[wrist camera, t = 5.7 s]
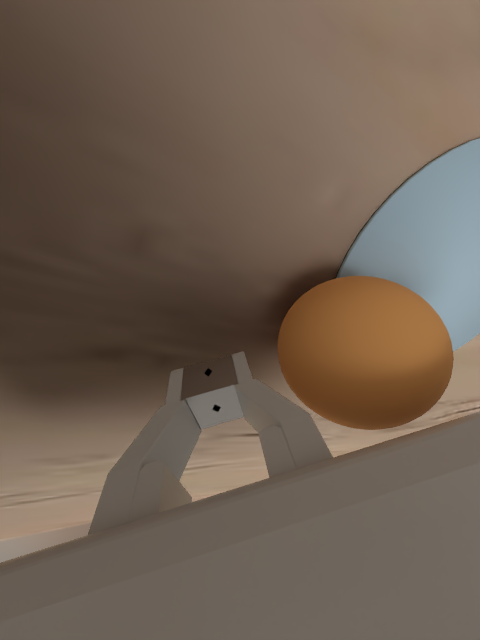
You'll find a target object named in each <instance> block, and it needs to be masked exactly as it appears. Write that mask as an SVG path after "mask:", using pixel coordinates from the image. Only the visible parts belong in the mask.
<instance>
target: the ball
mask: <svg viewBox="0 0 480 640" xmlns="http://www.w3.org/2000/svg"><path fill="white" fill-rule="evenodd" d="M278 358H279V363H280V366H281V370H282V373H283V375H284V377H285V379H286V381H287V383H288V385H289V386H290V388H291V389H292V391H293V392H294V393H295V394H296V396H297V397H298V398H299V399H300V400H301V401H302V402H303V403H304V404H305V405H306V406H307V407H309V408H310V409H311V410H313V411H314V412H316V413H317V414H319V415H320V416H322V417H324V418H326V419H328V420H330V421H332V422H334V423H337V424H340V425H343V426H347V427H351V428H356V429H365V430H377V429H386V428H393V427H397V426H401V425H403V424H406V423H408V422H410V421H412V420H414V419H416V418H418V417H420V416H422V415H423V414H424V413H426V412H427V411H428V410H429V409H430V408H431V407H433V406H434V404H435V403H436V402H437V401H438V400H439V399H440V398H441V396H442V395H443V393H444V391H445V389H446V388H447V386H448V383H449V381H450V378H451V374H452V368H453V360H454V359H453V349H452V342H451V339H450V336H449V333H448V331H447V328H446V326H445V325H444V323H443V321H442V319H441V318H440V316H439V315H438V314H437V312H436V311H435V310H434V309H433V308H432V307H431V305H430V304H429V303H428V302H426V301H425V300H424V299H423V298H422V297H421V296H419V295H418V294H416V293H415V292H413V291H411V290H410V289H408V288H406V287H404V286H402V285H400V284H398V283H395V282H393V281H389V280H386V279H382V278H377V277H371V276H347V277H341V278H336V279H333V280H329V281H326V282H324V283H321V284H319V285H317V286H315V287H314V288H312V289H310V290H309V291H307V292H306V293H305V294H303V295H302V296H301V297H300V298H299V299H298V300H297V301H296V302H295V303H294V304H293V305H292V307H291V308H290V309H289V311H288V312H287V314H286V316H285V318H284V320H283V322H282V325H281V328H280V332H279V337H278Z"/></svg>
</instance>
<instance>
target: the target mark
mask: <svg viewBox="0 0 480 640" xmlns="http://www.w3.org/2000/svg"><path fill="white" fill-rule="evenodd" d="M347 276H371V277H377V278H382V279H386V280H389V281H393V282H395V283H398V284H400V285H402V286H404V287H406V288H408V289H410V290H411V291H413V292H415V293H416V294H418V295H419V296H421V297H422V298H423V299H424V300H425V301H426V302H428V303H429V304H430V305H431V307H432V308H433V309H434V310H435V311H436V312H437V314H438V315H439V316H440V318H441V319H442V321H443V323H444V325H445V326H446V328H447V331H448V333H449V336H450V339H451V342H452V349H453V351H455V350H457V349H458V348H460V347H461V346H463V345H464V344H466V343H467V342H469V341H470V340H471V339H473V338H474V337H475V336H477V335H478V334H479V333H480V138H478V139H475V140H471V141H468V142H466V143H464V144H462V145H460V146H458V147H456V148H454V149H451V150H449V151H447V152H446V153H444V154H443V155H441V156H439V157H438V158H436V159H435V160H433V161H431V162H430V163H428V164H427V165H425V166H424V167H423V168H422V169H420V170H419V171H418V172H416V173H415V174H414V175H413V176H411V177H410V178H409V179H407V180H406V181H405V182H404V183H403V184H402V185H401V186H400V187H399V188H398V189H397V190H396V191H395V192H394V193H393V194H391V195H390V196H389V197H388V199H387V200H386V201H385V202H384V203H383V204H382V205H381V206H380V208H379V209H378V210H377V211H376V212H375V213H374V214H373V216H372V217H371V218H370V220H369V221H368V222H367V224H366V225H365V226H364V228H363V229H362V230H361V232H360V233H359V235H358V236H357V238H356V240H355V241H354V243H353V245H352V246H351V248H350V249H349V251H348V253H347V255H346V257H345V259H344V261H343V263H342V265H341V267H340V269H339V272H338V275H337V277H336V278H341V277H347Z"/></svg>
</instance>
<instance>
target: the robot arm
mask: <svg viewBox="0 0 480 640" xmlns="http://www.w3.org/2000/svg"><path fill="white" fill-rule="evenodd" d="M242 417H244V418H245V419H246V421H247V422H248V423H249V424H250V425H251V426H252V427H253V428H254V429H255V430H256V431H257V432H258V433H259V437H260V441H261V445H262V449H263V453H264V457H265V461H266V465H267V469H268V473H269V477H270V478H268V479H264V480H261V481H258V482H255V483H252V484H249V485H245V486H242V487H239V488H236V489H233V490H229V491H226V492H223V493H220V494H217V495H214V496H210V497H207V498H204V499H201V500H198V501H195V502H192V497H191V496H190V494H189V493H188V492H187V491H186V489H185V488H184V487H183V486H182V485H181V483H180V482H179V480H180V478H181V476H182V473H183V471H184V469H185V467H186V464H187V462H188V460H189V458H190V455H191V453H192V451H193V449H194V446H195V444H196V442H197V440H198V438H199V435H200V433H201V430H202V429H205V428H208V427H211V426H214V425H217V424H220V423H222V422H223V423H224V422H227V421H231V420H235V419H239V418H242ZM0 640H480V412H477V413H474V414H470V415H467V416H464V417H461V418H458V419H455V420H451V421H448V422H445V423H442V424H439V425H436V426H432V427H429V428H426V429H423V430H420V431H417V432H413V433H410V434H407V435H404V436H401V437H398V438H394V439H391V440H388V441H385V442H382V443H379V444H375V445H372V446H369V447H366V448H363V449H360V450H356V451H353V452H350V453H347V454H344V455H341V456H337V457H334V458H333V456H332V454H331V453H330V451H329V449H328V447H327V445H326V443H325V441H324V440H323V438H322V436H321V434H320V432H319V430H318V428H317V426H316V425H315V423H314V421H313V419H312V417H311V415H310V414H309V413H308V412H306V411H305V410H303V409H302V408H300V407H299V406H297V405H296V404H294V403H293V402H291V401H290V400H288V399H287V398H285V397H284V396H282V395H280V394H279V393H277V392H276V391H274V390H273V389H271V388H270V387H268V386H267V385H265V384H264V383H262V382H261V381H259V380H258V379H254V380H253V378H252V375H251V372H250V369H249V365H248V362H247V359H246V356H245V353H244V351H241V352H238V353H234V354H232V355H228V356H225V357H221V358H218V359H214V360H211V361H207V362H203V363H199V364H195V365H191V366H187V367H184V368H180V369H176V370H172V371H171V373H170V377H169V384H168V390H167V396H166V402H165V405H163V406H161V407H160V408H159V410H158V411H157V412H156V413H155V415H154V416H153V417H152V418H151V420H150V421H149V422H148V424H147V425H146V426H145V427H144V429H143V430H142V431H141V432H140V434H139V435H138V436H137V438H136V439H135V440H134V441H133V443H132V444H131V445H130V446H129V448H128V449H127V450H126V452H125V453H124V454H123V455H122V457H121V458H120V459H119V460H118V462H117V463H116V464H115V466H114V467H113V468H112V469H111V471H110V472H109V473H108V475H107V478H106V481H105V484H104V487H103V490H102V493H101V496H100V499H99V502H98V505H97V508H96V511H95V514H94V517H93V520H92V523H91V527H90V530H89V532H88V535H87V536H84V537H80V538H77V539H74V540H71V541H68V542H65V543H62V544H58V545H55V546H52V547H49V548H46V549H43V550H39V551H36V552H33V553H30V554H27V555H24V556H20V557H17V558H14V559H11V560H8V561H5V562H1V563H0Z"/></svg>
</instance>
